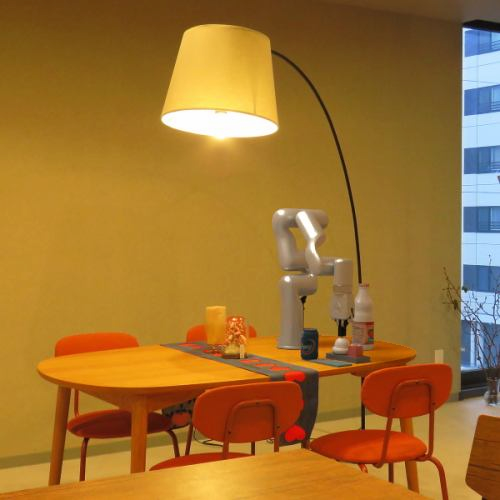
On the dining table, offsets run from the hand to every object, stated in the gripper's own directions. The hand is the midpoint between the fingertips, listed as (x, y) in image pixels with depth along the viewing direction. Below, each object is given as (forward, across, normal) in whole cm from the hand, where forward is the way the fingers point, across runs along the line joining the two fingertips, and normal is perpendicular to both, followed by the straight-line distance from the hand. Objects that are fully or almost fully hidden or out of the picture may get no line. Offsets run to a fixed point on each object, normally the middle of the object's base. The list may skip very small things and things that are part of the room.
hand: (342, 336), depth 303 cm
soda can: (+9, -6, -12) cm, 16 cm away
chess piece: (+10, -54, +26) cm, 60 cm away
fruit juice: (+9, -14, +27) cm, 32 cm away
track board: (+9, +6, -12) cm, 16 cm away
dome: (+6, 0, 0) cm, 6 cm away
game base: (+9, +3, 0) cm, 9 cm away
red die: (+7, +7, 0) cm, 10 cm away
